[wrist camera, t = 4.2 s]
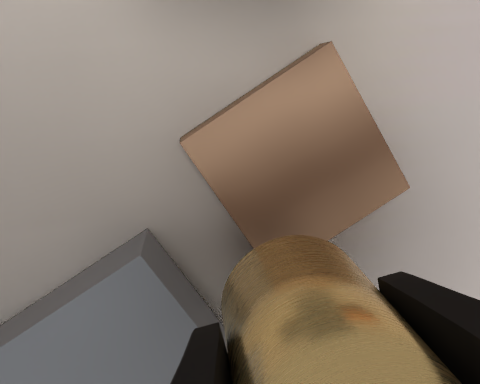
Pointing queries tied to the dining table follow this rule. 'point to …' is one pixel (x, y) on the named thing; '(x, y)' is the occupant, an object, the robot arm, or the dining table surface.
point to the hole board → (108, 323)
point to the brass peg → (317, 322)
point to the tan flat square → (297, 153)
